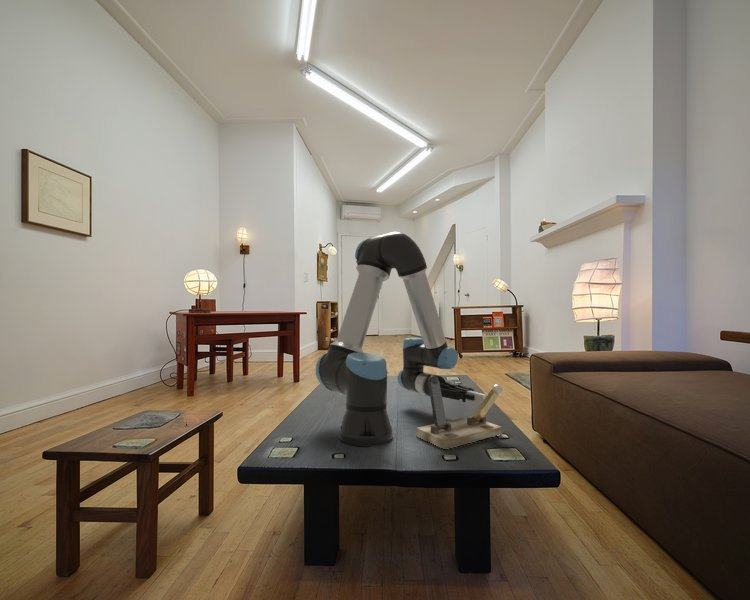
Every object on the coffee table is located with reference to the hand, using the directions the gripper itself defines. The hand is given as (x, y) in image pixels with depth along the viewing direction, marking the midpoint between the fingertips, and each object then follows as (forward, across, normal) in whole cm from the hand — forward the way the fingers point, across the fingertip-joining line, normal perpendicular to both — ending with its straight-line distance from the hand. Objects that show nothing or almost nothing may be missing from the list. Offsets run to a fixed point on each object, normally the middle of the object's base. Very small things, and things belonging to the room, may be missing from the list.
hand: (485, 399), depth 109 cm
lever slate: (-3, +15, -6) cm, 16 cm away
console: (-3, +8, -10) cm, 13 cm away
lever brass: (-3, +1, -6) cm, 7 cm away
